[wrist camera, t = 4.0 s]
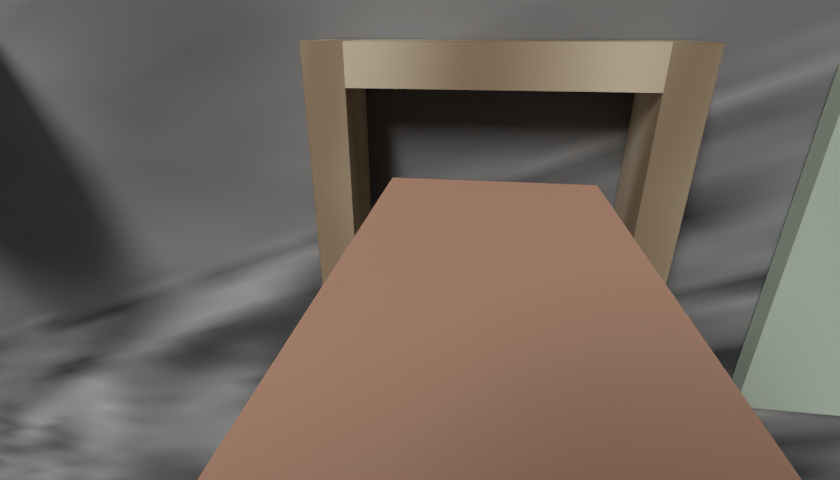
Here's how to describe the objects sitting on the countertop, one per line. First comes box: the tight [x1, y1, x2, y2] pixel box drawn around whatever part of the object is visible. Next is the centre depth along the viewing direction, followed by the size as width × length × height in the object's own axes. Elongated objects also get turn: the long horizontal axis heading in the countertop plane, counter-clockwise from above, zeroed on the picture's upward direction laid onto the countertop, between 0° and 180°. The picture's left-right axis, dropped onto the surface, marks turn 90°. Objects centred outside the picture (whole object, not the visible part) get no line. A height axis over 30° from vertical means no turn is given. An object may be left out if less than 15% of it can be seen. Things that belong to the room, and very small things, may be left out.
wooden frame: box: [299, 39, 725, 284], centre depth 13 cm, size 9×11×2 cm
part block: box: [198, 178, 802, 480], centre depth 7 cm, size 4×6×8 cm, turn 0°
